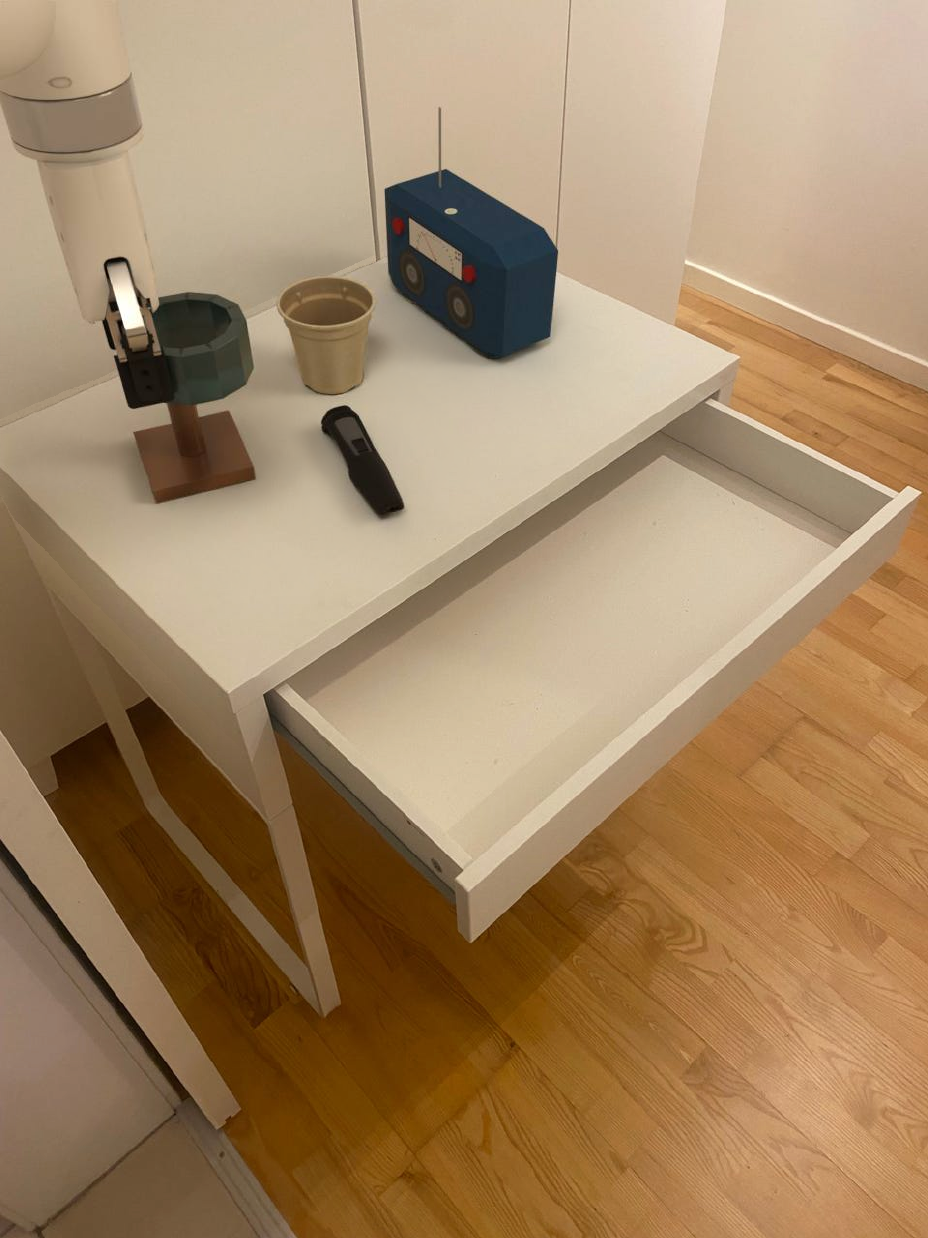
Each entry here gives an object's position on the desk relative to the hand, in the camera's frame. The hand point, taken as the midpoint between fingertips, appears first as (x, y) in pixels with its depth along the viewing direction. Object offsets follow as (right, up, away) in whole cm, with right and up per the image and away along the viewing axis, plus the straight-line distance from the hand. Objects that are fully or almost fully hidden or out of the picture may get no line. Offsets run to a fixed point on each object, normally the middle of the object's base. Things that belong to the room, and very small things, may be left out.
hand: (141, 371), depth 69 cm
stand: (-1, -3, +19) cm, 20 cm away
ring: (+3, 0, +2) cm, 4 cm away
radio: (+23, +16, +37) cm, 46 cm away
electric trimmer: (+14, -4, +19) cm, 24 cm away
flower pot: (+10, +7, +29) cm, 31 cm away
